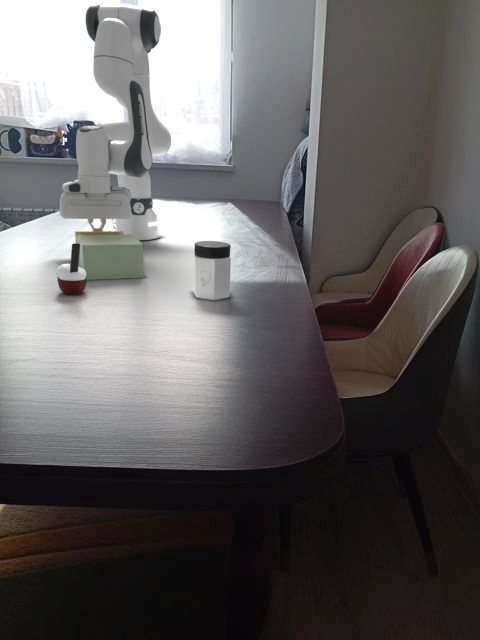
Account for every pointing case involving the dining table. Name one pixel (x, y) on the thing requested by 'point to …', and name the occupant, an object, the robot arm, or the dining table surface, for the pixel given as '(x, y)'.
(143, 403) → the dining table surface
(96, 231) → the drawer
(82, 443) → the dining table surface
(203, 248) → the jar
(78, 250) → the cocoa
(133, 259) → the pale green box
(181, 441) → the dining table surface
